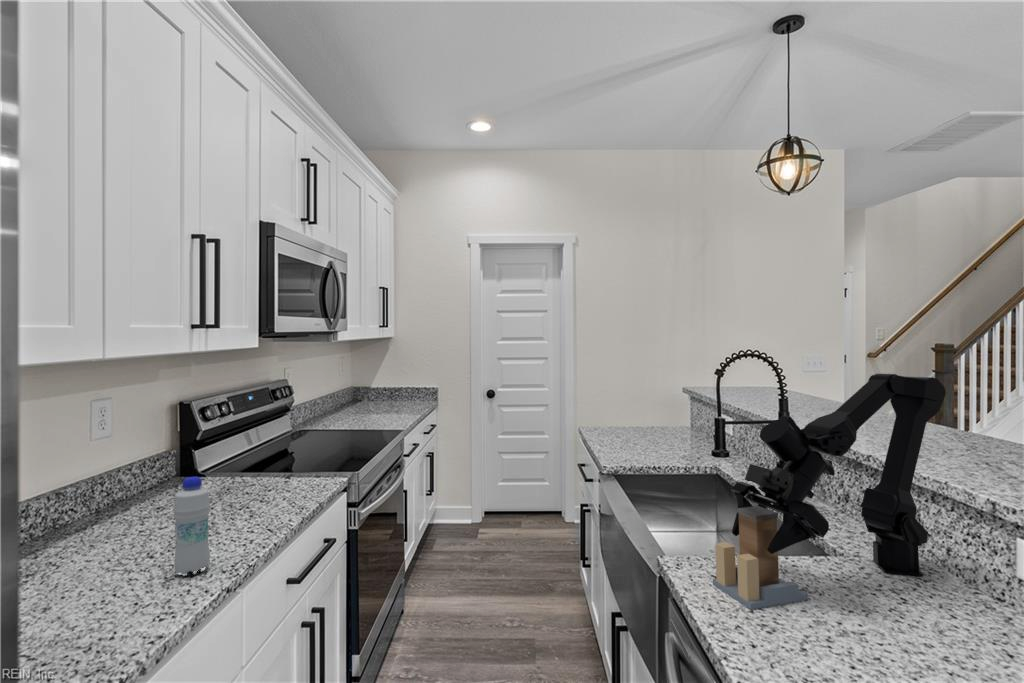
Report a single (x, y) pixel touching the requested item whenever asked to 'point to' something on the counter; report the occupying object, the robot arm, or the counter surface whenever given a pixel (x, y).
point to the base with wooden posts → (750, 581)
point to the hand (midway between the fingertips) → (750, 542)
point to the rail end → (759, 541)
